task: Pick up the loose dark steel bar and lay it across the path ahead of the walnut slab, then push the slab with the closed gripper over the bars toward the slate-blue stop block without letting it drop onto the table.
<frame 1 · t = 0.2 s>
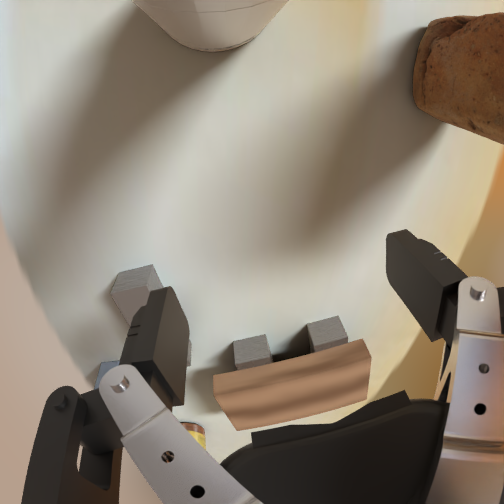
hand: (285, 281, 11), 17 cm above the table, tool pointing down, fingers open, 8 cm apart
bar loose: (157, 310, 33), on the table
sauce bottle: (187, 427, 48), on the table
block: (437, 69, 22), on the table
bar middle: (259, 364, 40), on the table, touching slab
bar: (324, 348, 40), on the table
slab: (293, 381, 37), point 4 cm above the table, touching bar middle
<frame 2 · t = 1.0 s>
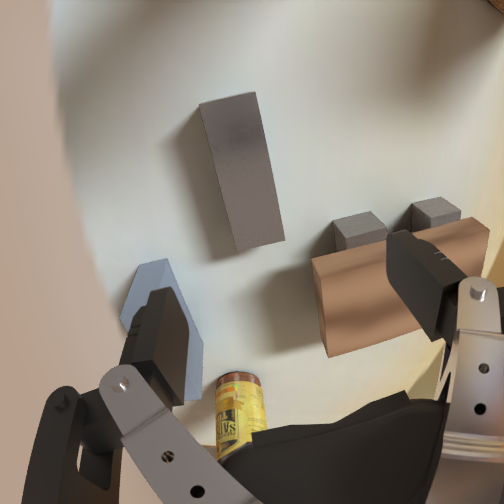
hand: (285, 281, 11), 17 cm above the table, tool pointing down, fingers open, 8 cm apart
bar loose: (242, 164, 26), on the table
stop block: (173, 308, 32), on the table
sauce bottle: (237, 382, 40), on the table
bar middle: (354, 264, 32), on the table, touching slab
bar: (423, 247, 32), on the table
slab: (401, 278, 28), point 4 cm above the table, touching bar middle
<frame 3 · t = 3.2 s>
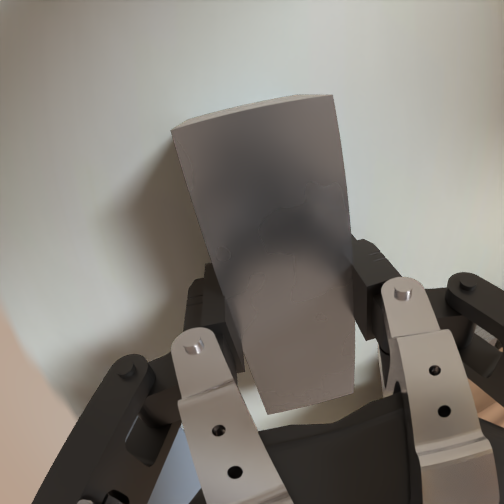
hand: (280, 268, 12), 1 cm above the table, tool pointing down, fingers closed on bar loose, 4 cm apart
bar loose: (276, 250, 13), on the table, touching gripper
stop block: (166, 433, 19), on the table
slab: (489, 385, 16), point 4 cm above the table, touching bar middle, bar
when the fingers open (2 cm above the table, at t = 8.2 s): bar loose drops 1 cm, on the table.
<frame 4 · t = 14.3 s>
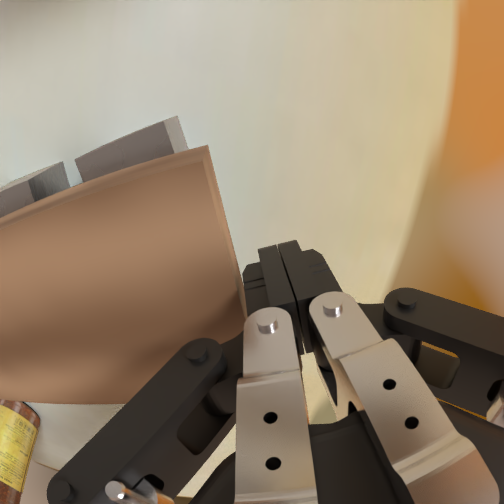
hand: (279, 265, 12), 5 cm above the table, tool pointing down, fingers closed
sauce bottle: (20, 407, 24), on the table
bar middle: (71, 260, 17), on the table
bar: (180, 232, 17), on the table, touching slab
slab: (64, 297, 13), point 4 cm above the table, touching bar, gripper
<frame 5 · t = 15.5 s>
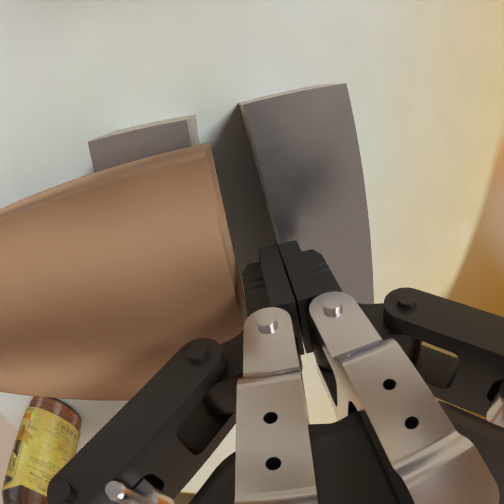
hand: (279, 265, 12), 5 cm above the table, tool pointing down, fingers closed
sauce bottle: (57, 409, 24), on the table
bar middle: (176, 230, 17), on the table, touching slab
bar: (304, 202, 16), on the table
slab: (61, 291, 13), point 4 cm above the table, touching bar middle, gripper
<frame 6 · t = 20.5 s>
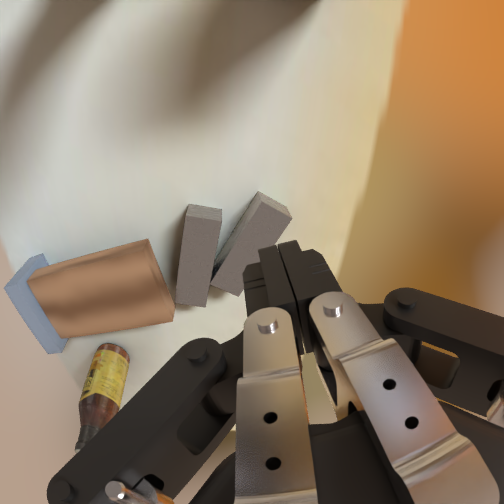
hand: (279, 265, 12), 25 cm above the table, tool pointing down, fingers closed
stop block: (53, 288, 40), on the table
sauce bottle: (114, 353, 47), on the table
bar middle: (198, 249, 40), on the table
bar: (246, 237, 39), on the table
slab: (100, 288, 37), point 3 cm above the table, touching bar loose
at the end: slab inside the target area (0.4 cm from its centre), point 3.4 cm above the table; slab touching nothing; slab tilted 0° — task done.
